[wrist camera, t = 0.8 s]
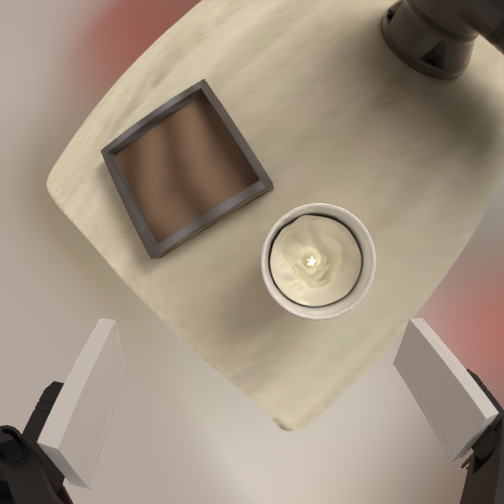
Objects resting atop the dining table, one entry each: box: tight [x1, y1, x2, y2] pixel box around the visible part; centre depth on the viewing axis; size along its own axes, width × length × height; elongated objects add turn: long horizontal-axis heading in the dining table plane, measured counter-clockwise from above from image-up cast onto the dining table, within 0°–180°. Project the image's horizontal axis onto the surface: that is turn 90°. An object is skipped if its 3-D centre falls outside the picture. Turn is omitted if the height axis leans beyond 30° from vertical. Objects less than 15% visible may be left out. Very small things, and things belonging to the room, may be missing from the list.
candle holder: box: [261, 203, 376, 320], centre depth 31 cm, size 10×10×12 cm
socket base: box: [101, 79, 274, 259], centre depth 37 cm, size 17×17×3 cm
